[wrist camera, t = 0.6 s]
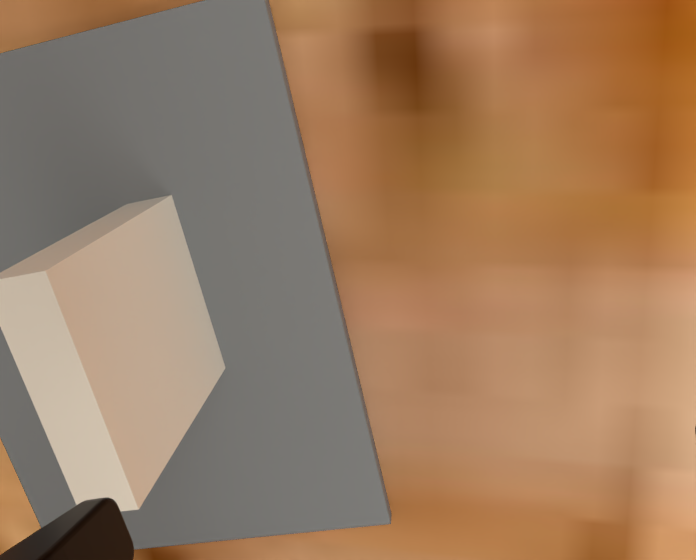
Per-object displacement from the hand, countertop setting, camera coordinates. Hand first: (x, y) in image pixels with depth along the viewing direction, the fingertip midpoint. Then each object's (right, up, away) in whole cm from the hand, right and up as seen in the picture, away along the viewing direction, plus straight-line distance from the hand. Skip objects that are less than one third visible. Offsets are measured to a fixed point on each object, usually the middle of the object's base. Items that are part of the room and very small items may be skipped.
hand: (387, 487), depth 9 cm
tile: (-6, +3, +12) cm, 14 cm away
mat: (-7, +1, +13) cm, 15 cm away
